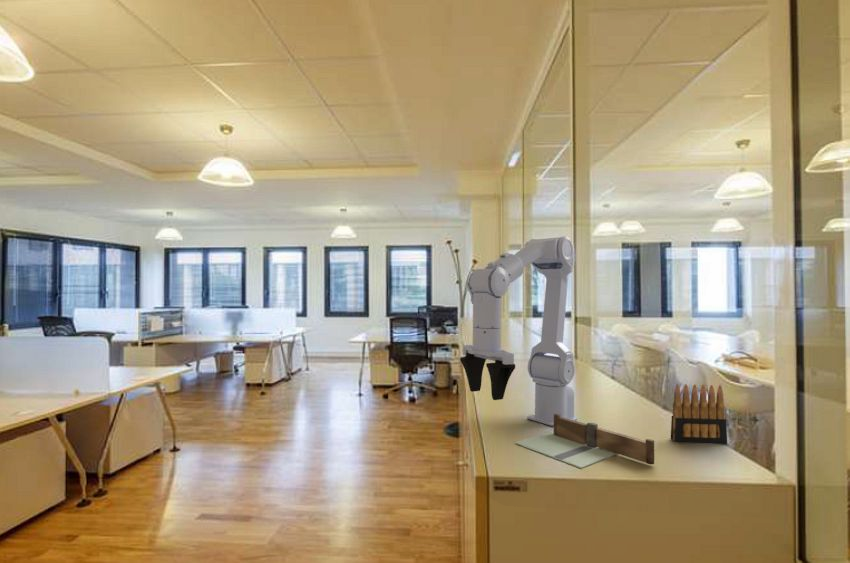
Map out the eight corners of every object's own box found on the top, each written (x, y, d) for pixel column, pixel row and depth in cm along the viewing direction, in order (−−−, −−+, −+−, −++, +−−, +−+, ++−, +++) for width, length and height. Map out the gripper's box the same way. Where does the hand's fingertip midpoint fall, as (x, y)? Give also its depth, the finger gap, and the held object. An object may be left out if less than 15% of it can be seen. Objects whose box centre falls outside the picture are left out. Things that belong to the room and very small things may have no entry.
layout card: (561, 430, 96) (561, 428, 96) (626, 450, 84) (626, 449, 84) (515, 443, 87) (515, 442, 87) (581, 468, 75) (581, 467, 75)
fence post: (557, 433, 93) (557, 412, 93) (599, 447, 85) (599, 424, 85) (551, 435, 92) (551, 414, 92) (593, 449, 84) (594, 426, 84)
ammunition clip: (721, 441, 91) (721, 384, 91) (727, 444, 89) (727, 386, 89) (670, 439, 91) (670, 382, 91) (675, 442, 89) (675, 384, 90)
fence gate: (596, 447, 84) (596, 426, 84) (600, 445, 85) (600, 425, 85) (652, 465, 75) (652, 442, 76) (655, 463, 76) (655, 440, 76)
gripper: (451, 325, 91) (450, 389, 91) (493, 331, 78) (492, 405, 78) (478, 324, 94) (477, 386, 94) (522, 330, 82) (521, 401, 81)
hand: (486, 395), depth 86 cm, fingers open, 7 cm apart
